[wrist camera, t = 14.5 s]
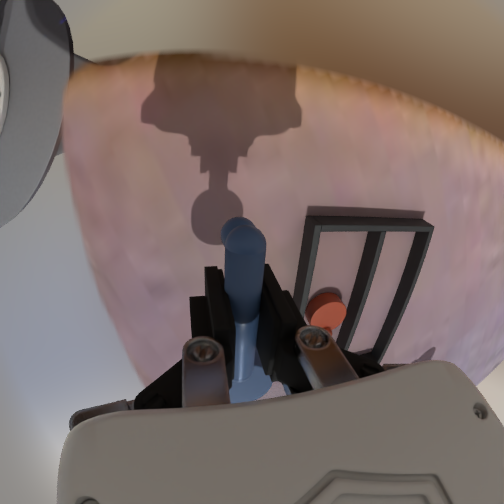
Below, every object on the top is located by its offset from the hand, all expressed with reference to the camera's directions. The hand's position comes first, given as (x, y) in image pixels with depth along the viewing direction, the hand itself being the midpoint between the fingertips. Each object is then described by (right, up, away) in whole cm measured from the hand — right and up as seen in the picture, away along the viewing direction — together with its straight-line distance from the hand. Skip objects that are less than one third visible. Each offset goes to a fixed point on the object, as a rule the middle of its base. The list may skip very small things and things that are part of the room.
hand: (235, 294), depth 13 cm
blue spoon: (0, -1, +1) cm, 2 cm away
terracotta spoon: (+8, -7, +18) cm, 21 cm away
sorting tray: (+11, -3, +17) cm, 21 cm away
